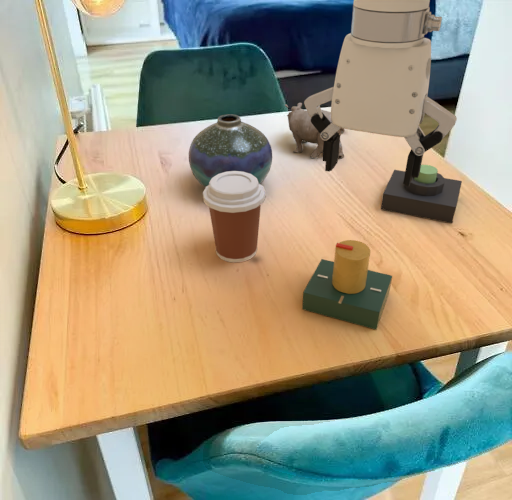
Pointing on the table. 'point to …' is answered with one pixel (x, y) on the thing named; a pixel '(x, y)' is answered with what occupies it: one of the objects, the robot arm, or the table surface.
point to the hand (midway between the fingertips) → (368, 173)
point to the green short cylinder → (427, 174)
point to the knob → (350, 266)
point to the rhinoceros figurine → (308, 130)
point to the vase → (229, 150)
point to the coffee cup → (235, 214)
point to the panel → (347, 297)
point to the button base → (422, 197)
